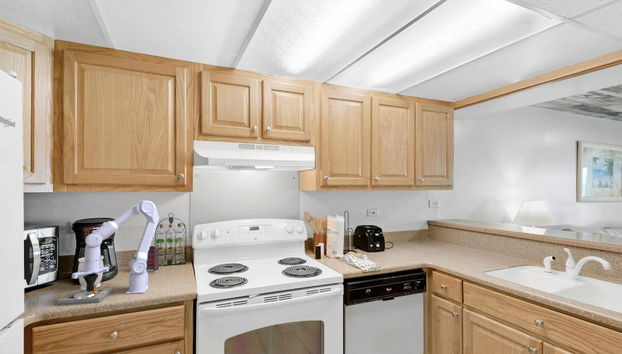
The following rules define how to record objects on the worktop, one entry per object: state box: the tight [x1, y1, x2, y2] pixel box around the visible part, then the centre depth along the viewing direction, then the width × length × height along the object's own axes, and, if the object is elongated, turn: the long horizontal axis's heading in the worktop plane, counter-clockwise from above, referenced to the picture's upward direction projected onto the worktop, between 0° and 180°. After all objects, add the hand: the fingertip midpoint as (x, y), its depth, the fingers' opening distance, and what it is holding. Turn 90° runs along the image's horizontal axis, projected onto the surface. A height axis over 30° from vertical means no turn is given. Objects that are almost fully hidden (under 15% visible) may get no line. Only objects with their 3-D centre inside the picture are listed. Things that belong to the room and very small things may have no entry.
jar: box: [77, 255, 105, 290], centre depth 151 cm, size 11×10×15 cm
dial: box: [74, 285, 99, 298], centre depth 136 cm, size 9×9×5 cm
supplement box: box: [146, 244, 160, 274], centre depth 178 cm, size 9×5×16 cm, turn 86°
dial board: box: [56, 287, 113, 307], centre depth 136 cm, size 13×16×2 cm
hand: (90, 291), depth 134 cm, fingers closed, pressing on dial
